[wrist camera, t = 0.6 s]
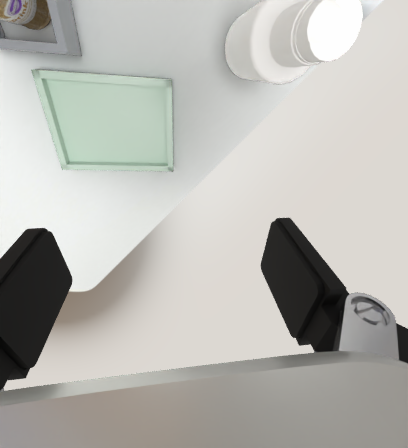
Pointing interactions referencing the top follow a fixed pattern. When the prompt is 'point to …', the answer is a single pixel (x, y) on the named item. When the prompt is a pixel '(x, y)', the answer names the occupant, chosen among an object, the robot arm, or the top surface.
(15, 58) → the top surface
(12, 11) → the sprinkles bottle
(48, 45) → the holder
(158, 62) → the top surface
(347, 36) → the white bottle
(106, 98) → the tray
